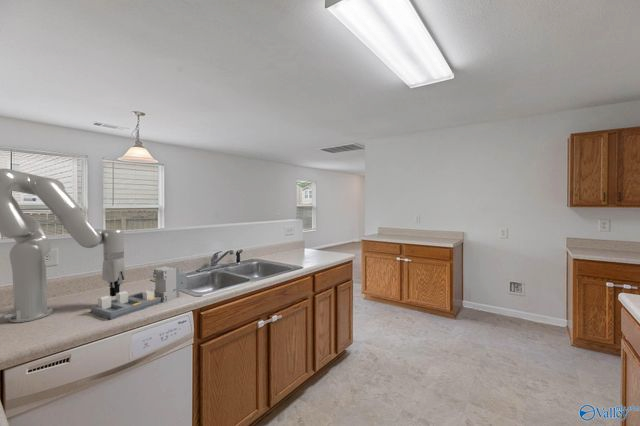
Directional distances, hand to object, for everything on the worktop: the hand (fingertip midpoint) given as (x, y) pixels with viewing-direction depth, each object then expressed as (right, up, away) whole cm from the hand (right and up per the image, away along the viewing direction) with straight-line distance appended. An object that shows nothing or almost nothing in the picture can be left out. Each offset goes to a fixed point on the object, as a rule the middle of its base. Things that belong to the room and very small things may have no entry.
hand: (114, 295), depth 129 cm
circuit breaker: (+21, -4, +10) cm, 24 cm away
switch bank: (+9, -4, -4) cm, 11 cm away
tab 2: (+5, -3, -3) cm, 6 cm away
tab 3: (+16, -3, 0) cm, 16 cm away
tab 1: (+2, -3, -9) cm, 9 cm away
